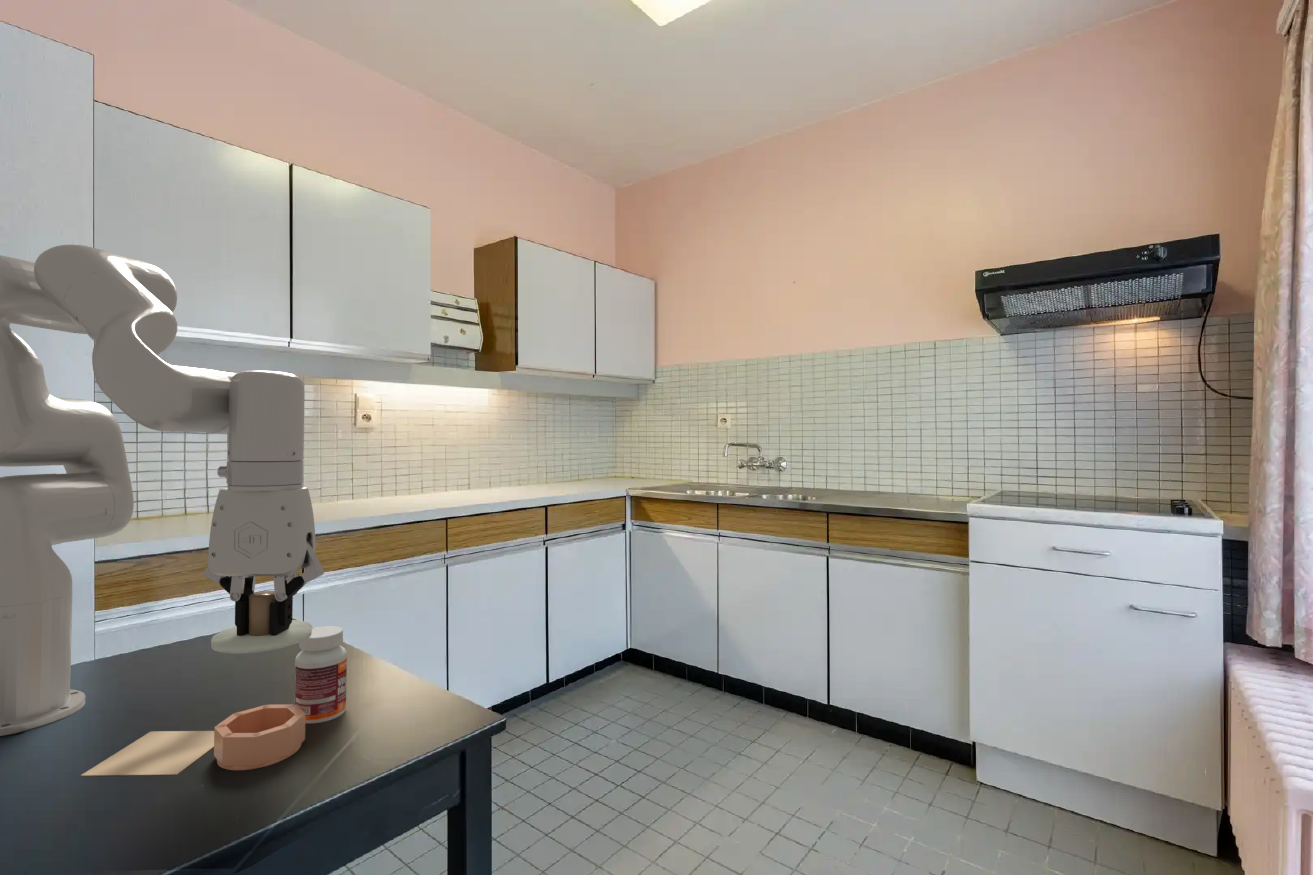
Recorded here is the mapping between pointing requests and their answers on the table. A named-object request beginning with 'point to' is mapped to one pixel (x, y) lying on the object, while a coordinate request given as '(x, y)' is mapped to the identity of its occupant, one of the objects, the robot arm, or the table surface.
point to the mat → (157, 754)
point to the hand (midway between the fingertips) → (263, 630)
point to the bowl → (259, 736)
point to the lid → (260, 630)
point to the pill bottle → (321, 675)
